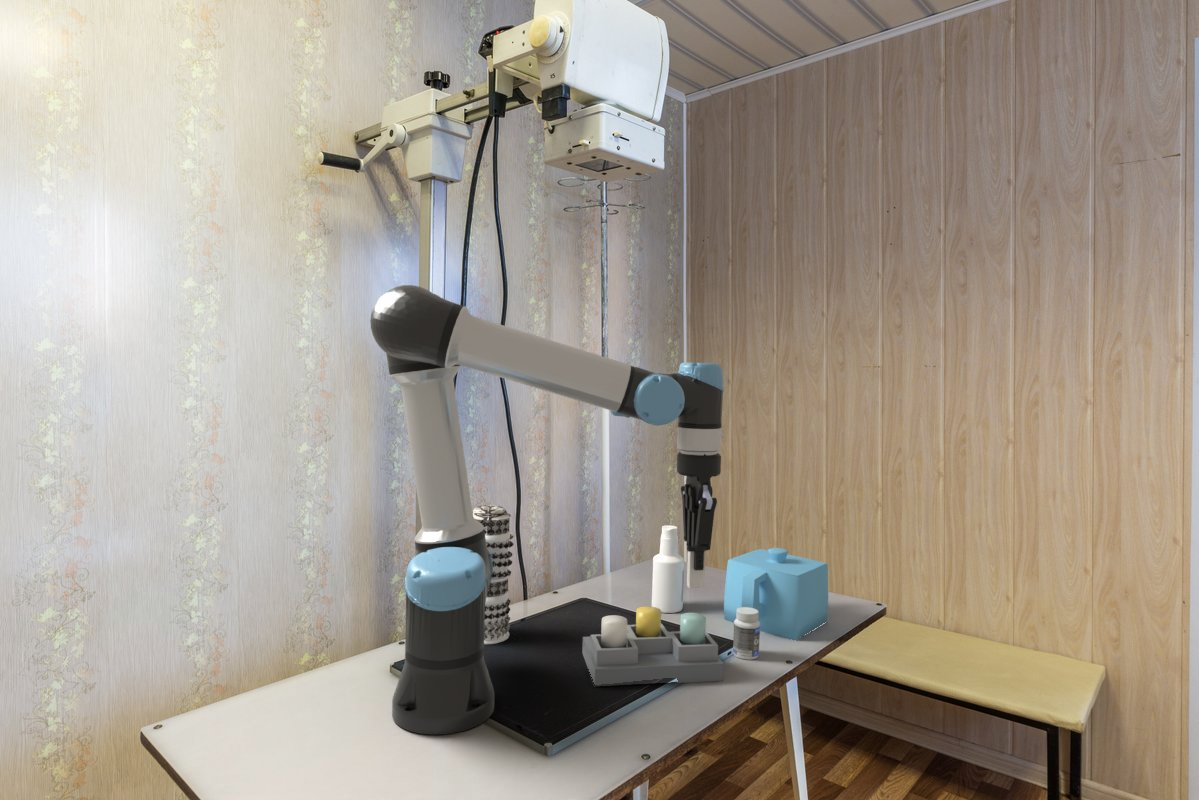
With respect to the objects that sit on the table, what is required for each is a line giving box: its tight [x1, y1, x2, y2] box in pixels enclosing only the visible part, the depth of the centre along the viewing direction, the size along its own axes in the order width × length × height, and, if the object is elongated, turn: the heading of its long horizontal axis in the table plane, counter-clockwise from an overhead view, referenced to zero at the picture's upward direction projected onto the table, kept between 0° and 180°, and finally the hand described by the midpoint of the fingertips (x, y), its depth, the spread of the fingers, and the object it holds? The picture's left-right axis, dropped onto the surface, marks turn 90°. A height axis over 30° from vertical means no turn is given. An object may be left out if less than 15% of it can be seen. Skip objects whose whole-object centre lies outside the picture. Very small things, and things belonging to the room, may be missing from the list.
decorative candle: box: [472, 504, 514, 645], centre depth 138 cm, size 9×9×25 cm
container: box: [723, 547, 829, 641], centre depth 151 cm, size 17×25×15 cm
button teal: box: [679, 612, 707, 645], centre depth 125 cm, size 4×4×4 cm
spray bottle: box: [651, 524, 685, 614], centre depth 156 cm, size 7×7×18 cm
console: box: [581, 623, 725, 685], centre depth 126 cm, size 22×14×6 cm, turn 100°
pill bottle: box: [732, 607, 761, 660], centre depth 132 cm, size 5×5×8 cm
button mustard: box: [635, 605, 662, 637], centre depth 128 cm, size 4×4×4 cm
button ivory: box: [600, 614, 628, 648], centre depth 123 cm, size 4×4×4 cm
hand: (695, 586), depth 125 cm, fingers closed
